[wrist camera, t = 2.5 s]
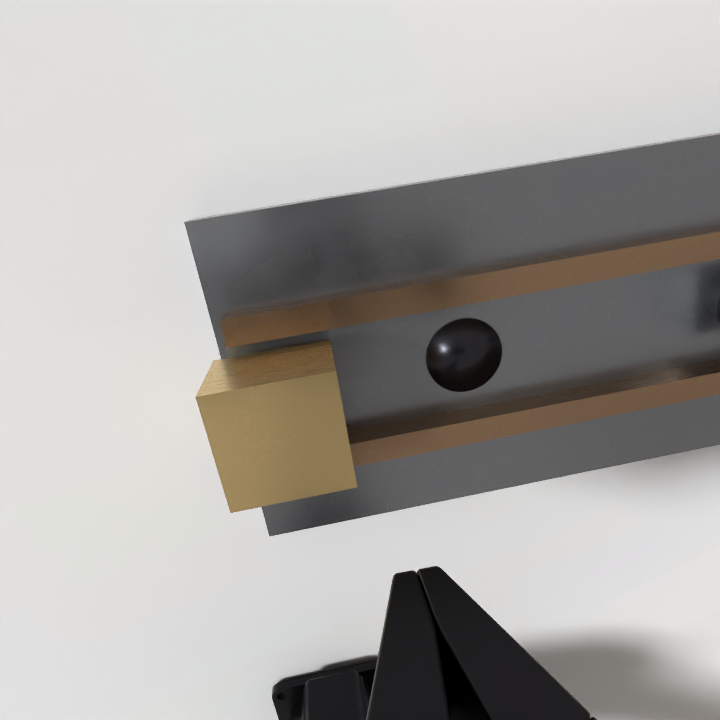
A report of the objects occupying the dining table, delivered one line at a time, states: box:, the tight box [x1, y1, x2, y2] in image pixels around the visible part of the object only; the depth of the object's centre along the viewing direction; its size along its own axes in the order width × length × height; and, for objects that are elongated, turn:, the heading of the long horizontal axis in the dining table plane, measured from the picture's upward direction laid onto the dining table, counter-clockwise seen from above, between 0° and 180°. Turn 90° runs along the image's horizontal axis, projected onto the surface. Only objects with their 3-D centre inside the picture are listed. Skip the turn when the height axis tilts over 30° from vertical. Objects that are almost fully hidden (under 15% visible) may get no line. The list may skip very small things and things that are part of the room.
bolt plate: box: [184, 133, 720, 536], centre depth 19 cm, size 13×25×2 cm, turn 99°
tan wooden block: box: [196, 340, 357, 513], centre depth 16 cm, size 4×4×4 cm
